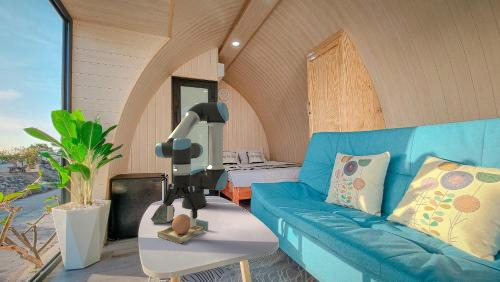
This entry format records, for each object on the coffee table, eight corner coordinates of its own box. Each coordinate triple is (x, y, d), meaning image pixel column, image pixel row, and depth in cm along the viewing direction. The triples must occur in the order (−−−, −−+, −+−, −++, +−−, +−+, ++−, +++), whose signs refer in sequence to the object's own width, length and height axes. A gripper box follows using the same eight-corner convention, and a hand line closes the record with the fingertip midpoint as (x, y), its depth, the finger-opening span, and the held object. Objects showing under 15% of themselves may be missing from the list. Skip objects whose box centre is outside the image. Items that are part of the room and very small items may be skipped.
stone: (160, 203, 105) (171, 198, 115) (146, 215, 106) (158, 209, 116) (172, 219, 104) (182, 212, 114) (157, 231, 105) (169, 223, 115)
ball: (181, 226, 100) (183, 209, 99) (194, 232, 96) (196, 214, 96) (167, 233, 93) (169, 214, 92) (180, 239, 89) (182, 220, 89)
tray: (181, 226, 103) (181, 221, 103) (203, 231, 97) (203, 227, 97) (157, 236, 92) (157, 231, 92) (180, 243, 85) (180, 238, 85)
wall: (180, 223, 107) (180, 215, 107) (208, 230, 99) (208, 221, 99) (179, 224, 106) (179, 215, 106) (206, 231, 98) (206, 222, 98)
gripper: (155, 172, 97) (154, 220, 97) (198, 177, 85) (197, 231, 85) (168, 170, 104) (168, 215, 104) (210, 175, 92) (209, 225, 92)
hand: (181, 223), depth 95 cm, fingers open, 13 cm apart
